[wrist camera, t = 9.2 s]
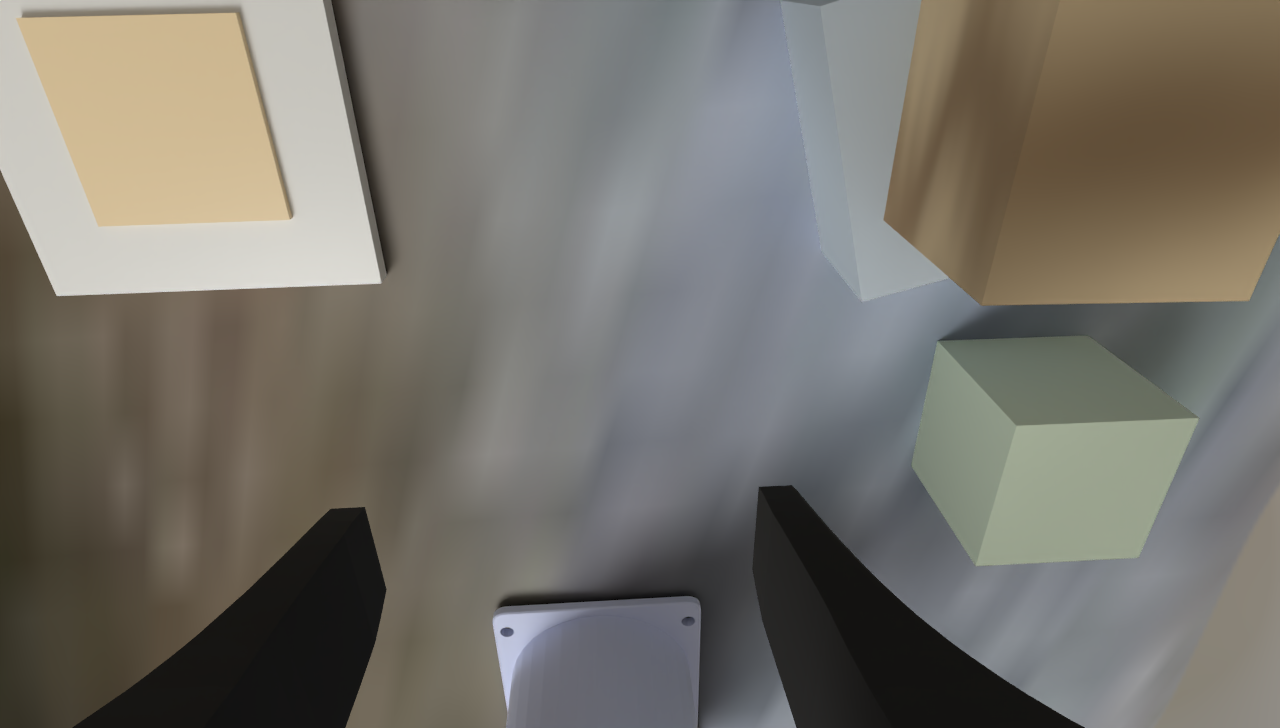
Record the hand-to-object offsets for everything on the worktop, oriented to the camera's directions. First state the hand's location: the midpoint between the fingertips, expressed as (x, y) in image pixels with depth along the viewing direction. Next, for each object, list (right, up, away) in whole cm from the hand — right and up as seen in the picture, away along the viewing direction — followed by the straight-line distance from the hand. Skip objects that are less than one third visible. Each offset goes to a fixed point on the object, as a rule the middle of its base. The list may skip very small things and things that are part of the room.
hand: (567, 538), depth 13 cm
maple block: (+10, +9, +3) cm, 13 cm away
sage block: (+13, +2, +11) cm, 18 cm away
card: (-11, +10, +5) cm, 15 cm away
